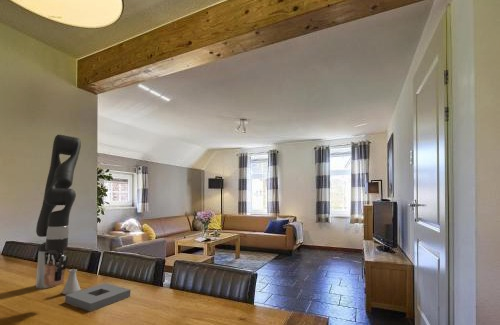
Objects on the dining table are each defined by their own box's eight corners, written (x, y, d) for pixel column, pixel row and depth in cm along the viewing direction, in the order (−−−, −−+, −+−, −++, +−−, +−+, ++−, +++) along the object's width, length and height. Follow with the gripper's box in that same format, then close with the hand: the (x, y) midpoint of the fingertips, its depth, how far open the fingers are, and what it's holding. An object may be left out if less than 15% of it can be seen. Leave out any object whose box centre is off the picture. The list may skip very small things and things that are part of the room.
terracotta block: (43, 284, 113) (45, 264, 114) (57, 281, 117) (58, 261, 118) (50, 287, 110) (51, 266, 111) (63, 283, 115) (65, 263, 115)
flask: (71, 295, 125) (73, 272, 126) (57, 294, 127) (59, 271, 128) (84, 290, 132) (85, 268, 133) (71, 289, 134) (72, 267, 135)
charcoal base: (64, 302, 118) (65, 295, 118) (105, 289, 133) (105, 282, 134) (90, 311, 109) (90, 303, 109) (130, 296, 125) (130, 289, 125)
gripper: (38, 236, 116) (34, 278, 114) (56, 240, 109) (53, 285, 107) (58, 233, 122) (54, 274, 121) (76, 237, 115) (73, 280, 114)
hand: (54, 279), depth 114 cm, fingers closed on terracotta block, 5 cm apart
